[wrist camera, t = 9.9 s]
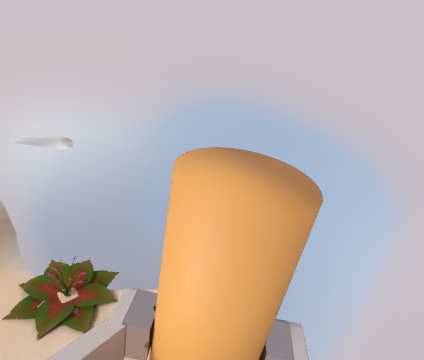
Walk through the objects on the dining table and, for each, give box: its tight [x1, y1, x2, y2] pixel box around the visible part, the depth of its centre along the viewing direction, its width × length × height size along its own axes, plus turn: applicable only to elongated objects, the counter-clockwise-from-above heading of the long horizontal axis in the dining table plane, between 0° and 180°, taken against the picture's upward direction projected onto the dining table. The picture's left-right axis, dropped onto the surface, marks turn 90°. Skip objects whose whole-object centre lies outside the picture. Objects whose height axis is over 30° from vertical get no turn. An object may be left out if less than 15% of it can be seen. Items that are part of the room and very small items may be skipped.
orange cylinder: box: [150, 147, 323, 360], centre depth 11 cm, size 4×4×16 cm
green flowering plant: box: [3, 258, 119, 340], centre depth 33 cm, size 12×12×5 cm
